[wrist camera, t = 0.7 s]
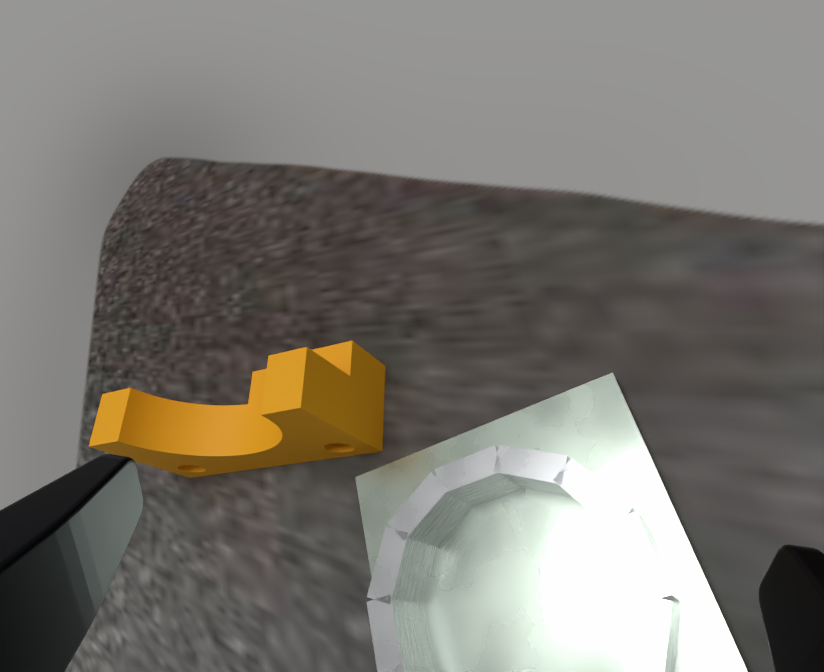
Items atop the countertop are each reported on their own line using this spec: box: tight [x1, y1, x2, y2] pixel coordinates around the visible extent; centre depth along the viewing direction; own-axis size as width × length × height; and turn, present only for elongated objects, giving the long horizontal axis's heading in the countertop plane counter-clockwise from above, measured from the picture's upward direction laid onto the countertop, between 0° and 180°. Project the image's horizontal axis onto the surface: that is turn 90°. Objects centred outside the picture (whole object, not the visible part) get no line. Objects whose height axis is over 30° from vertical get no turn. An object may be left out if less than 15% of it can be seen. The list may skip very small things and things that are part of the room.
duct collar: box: [355, 373, 748, 672], centre depth 21 cm, size 14×12×3 cm
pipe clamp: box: [89, 341, 385, 478], centre depth 29 cm, size 12×4×6 cm, turn 89°
